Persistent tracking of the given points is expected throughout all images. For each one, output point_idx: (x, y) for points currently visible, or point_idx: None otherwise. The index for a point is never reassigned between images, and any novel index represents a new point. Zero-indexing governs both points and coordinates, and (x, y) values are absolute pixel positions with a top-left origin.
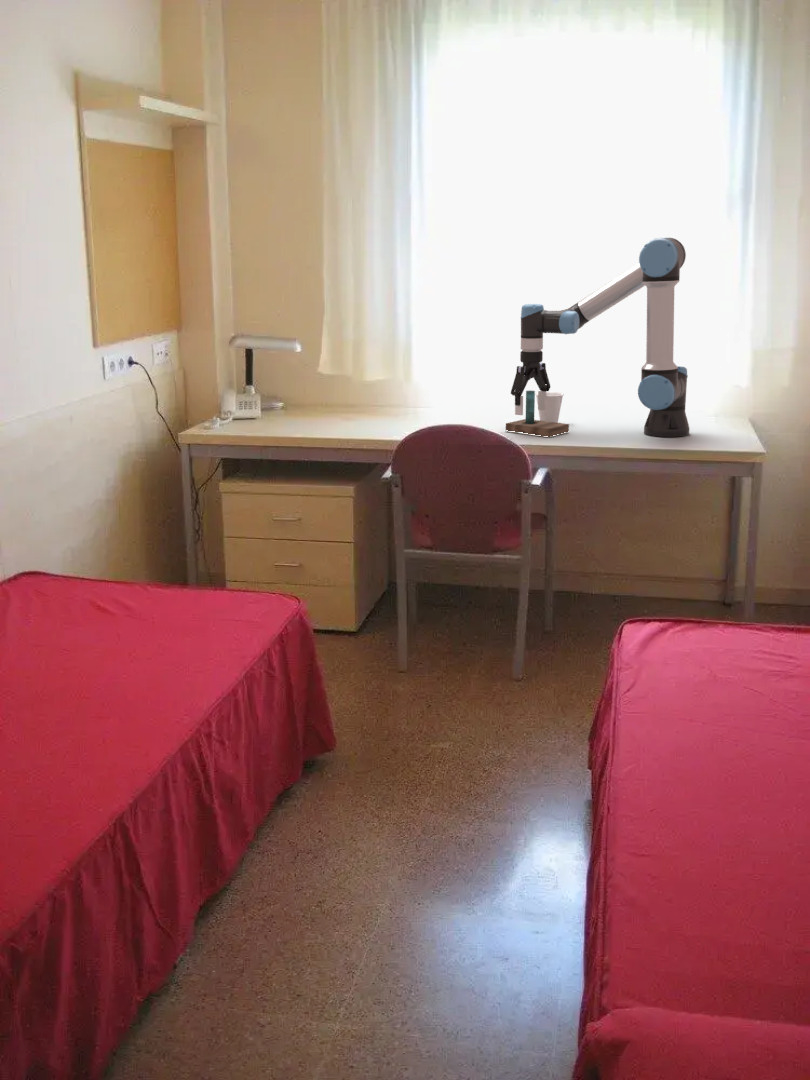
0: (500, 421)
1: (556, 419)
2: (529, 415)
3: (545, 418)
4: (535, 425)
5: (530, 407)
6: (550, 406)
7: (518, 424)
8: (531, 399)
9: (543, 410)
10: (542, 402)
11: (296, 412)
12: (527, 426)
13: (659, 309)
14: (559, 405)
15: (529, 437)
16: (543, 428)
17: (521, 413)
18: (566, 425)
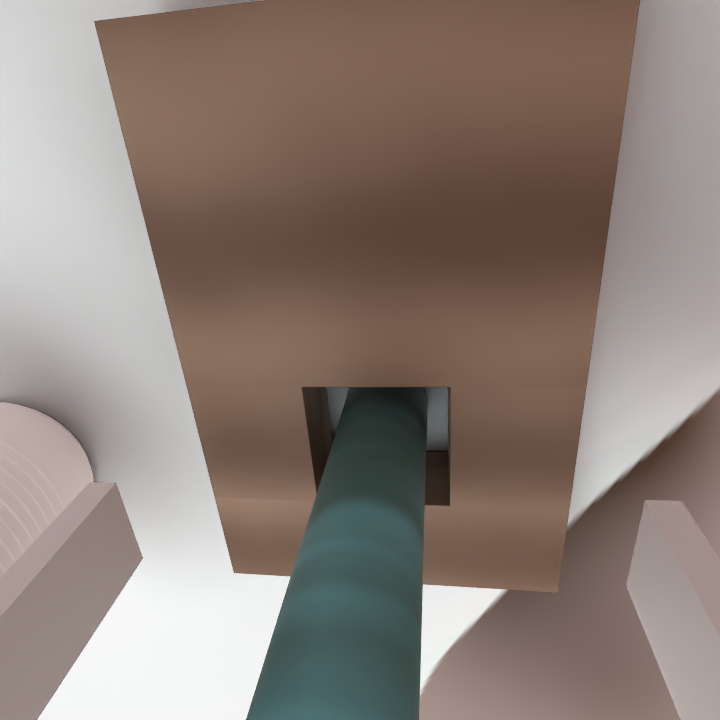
0: (220, 705)
1: None
2: (416, 494)
3: (53, 486)
4: (492, 310)
5: (405, 574)
6: None
7: (547, 482)
8: (382, 706)
9: (15, 556)
10: (57, 594)
11: None
12: (590, 355)
13: None
14: None
15: (707, 204)
16: (623, 87)
17: (692, 524)
18: (160, 14)
